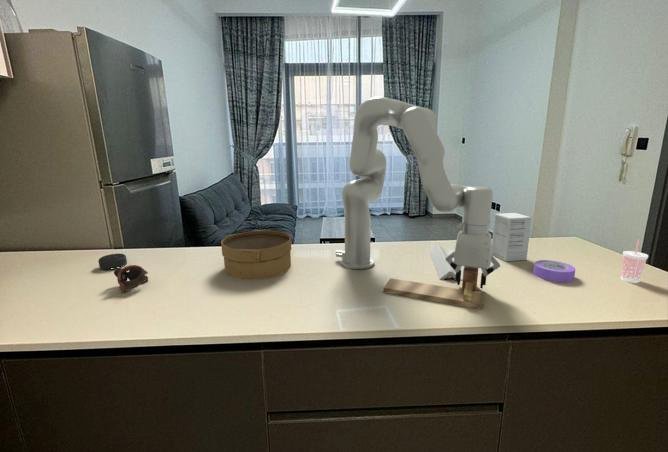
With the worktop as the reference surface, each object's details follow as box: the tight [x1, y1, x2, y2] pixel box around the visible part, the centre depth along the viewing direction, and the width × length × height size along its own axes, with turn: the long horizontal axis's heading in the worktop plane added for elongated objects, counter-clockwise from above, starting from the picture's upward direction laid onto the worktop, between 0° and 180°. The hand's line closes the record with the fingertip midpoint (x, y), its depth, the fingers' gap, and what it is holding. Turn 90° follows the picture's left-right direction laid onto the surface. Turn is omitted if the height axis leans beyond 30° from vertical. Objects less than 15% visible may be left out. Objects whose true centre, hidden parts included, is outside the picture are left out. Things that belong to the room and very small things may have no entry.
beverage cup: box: [620, 238, 649, 284], centre depth 108 cm, size 6×6×14 cm
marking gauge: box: [461, 266, 479, 301], centre depth 99 cm, size 4×16×7 cm, turn 155°
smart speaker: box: [97, 253, 128, 270], centre depth 128 cm, size 9×9×4 cm
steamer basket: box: [220, 230, 292, 281], centre depth 124 cm, size 25×25×11 cm
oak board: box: [382, 277, 485, 310], centre depth 101 cm, size 28×8×2 cm, turn 65°
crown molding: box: [428, 243, 464, 281], centre depth 126 cm, size 31×12×4 cm, turn 171°
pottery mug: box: [113, 264, 149, 293], centre depth 109 cm, size 12×10×8 cm
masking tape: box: [532, 259, 576, 283], centre depth 113 cm, size 12×12×4 cm
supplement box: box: [492, 212, 532, 262], centre depth 130 cm, size 10×9×17 cm
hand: (470, 284), depth 104 cm, fingers open, 6 cm apart
